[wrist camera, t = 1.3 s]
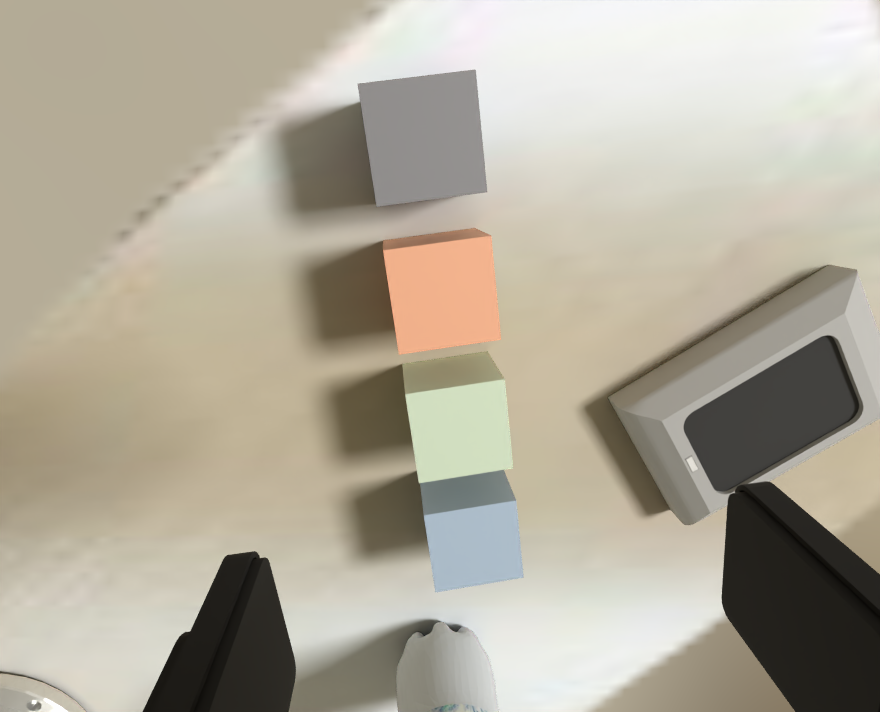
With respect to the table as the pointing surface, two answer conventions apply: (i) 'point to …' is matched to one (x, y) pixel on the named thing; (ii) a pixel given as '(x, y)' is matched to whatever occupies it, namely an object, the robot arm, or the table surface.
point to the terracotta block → (442, 290)
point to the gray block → (424, 137)
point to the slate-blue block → (472, 530)
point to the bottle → (445, 673)
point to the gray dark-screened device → (758, 394)
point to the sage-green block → (457, 416)
